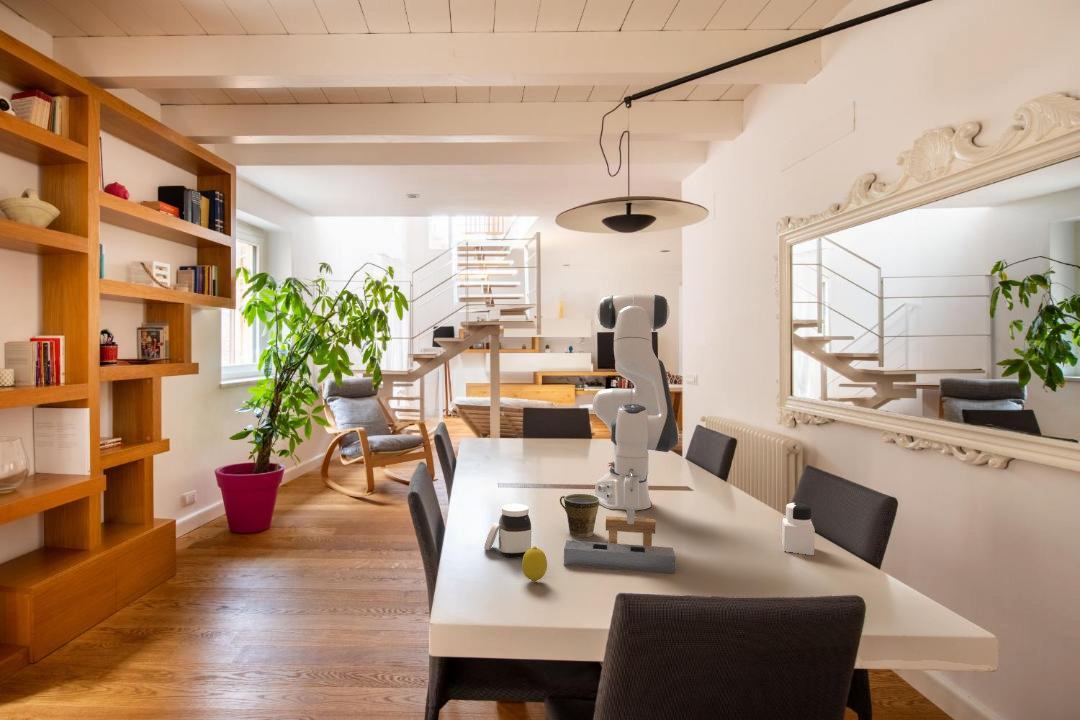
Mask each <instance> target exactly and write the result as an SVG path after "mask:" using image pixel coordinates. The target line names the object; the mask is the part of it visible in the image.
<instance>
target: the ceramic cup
mask: <svg viewBox="0 0 1080 720" xmlns="http://www.w3.org/2000/svg"><path fill="white" fill-rule="evenodd" d="M562 501H563V502H564V503H563V502H562ZM559 503H560V505H561V507H562V508H563V509H564V511H565V512H566V517H567V523H568V531H569V532H568V533H569V534H570V536H573V537H576V538H588V537H592V536H593V534H594V530H595V524H596V519H597V516H598V515H597V514H598V511H599V506H600V504H599V498H598V497H596V496H593V495H590V494H586V493H573V494H567V495H562V496H560V498H559Z"/></svg>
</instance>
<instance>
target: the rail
mask: <svg viewBox="0 0 1080 720" xmlns="http://www.w3.org/2000/svg"><path fill="white" fill-rule="evenodd" d="M675 558H676V556H675V551H674V547H671V546H669V547H668V546H655V545H652V546H643V544H642V545H641V544H640V545H638V544H625V543H617V544H613V543H609V542H599V541H597V542H596V541H594V542H593V541H582V540H566V541H565V545H564V548H563V566H569V567H570V566H572V567H584V568H597V569H613V570H624V571H635V572H636V571H637V572H639V571H640V572H647V573H649V572H652V573H661V574H663V573H665V574H675V571H676V570H675V568H676V567H675V566H676V565H675V564H676V563H675V561H676V559H675Z"/></svg>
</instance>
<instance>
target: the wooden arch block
mask: <svg viewBox="0 0 1080 720" xmlns="http://www.w3.org/2000/svg"><path fill="white" fill-rule="evenodd" d="M656 528H657V527H656V519H655V518H641V517H634V524H628V523H627V516H625V517H624V516H610V515H609V516H608V515H606V516H605V531H608V543H613V544H618V532H622V533H623V532H624V533H625V532H626V533H637V534H639V533H640V534H642V546H653V544H652V543H653V541H652V540H653V534H655V535H656Z"/></svg>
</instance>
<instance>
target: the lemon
mask: <svg viewBox="0 0 1080 720" xmlns="http://www.w3.org/2000/svg"><path fill="white" fill-rule="evenodd" d="M547 567H548V561H547V557H546V554H545V552H544V551H543V550H542V549H541V548H539V547H537V546H533V547H531V548H530V549H529V550H527V551H526V553H525V554H524V557H522V561H521V570H522V572H523V575H524V576H525V577H526V578H527V579H528V580H529V581H532V583H537V581H540V580H541V579H543V577H544V576H545V575H546V572H547V569H548V568H547Z"/></svg>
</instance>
